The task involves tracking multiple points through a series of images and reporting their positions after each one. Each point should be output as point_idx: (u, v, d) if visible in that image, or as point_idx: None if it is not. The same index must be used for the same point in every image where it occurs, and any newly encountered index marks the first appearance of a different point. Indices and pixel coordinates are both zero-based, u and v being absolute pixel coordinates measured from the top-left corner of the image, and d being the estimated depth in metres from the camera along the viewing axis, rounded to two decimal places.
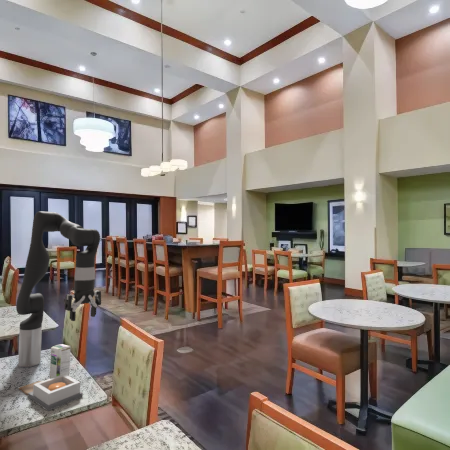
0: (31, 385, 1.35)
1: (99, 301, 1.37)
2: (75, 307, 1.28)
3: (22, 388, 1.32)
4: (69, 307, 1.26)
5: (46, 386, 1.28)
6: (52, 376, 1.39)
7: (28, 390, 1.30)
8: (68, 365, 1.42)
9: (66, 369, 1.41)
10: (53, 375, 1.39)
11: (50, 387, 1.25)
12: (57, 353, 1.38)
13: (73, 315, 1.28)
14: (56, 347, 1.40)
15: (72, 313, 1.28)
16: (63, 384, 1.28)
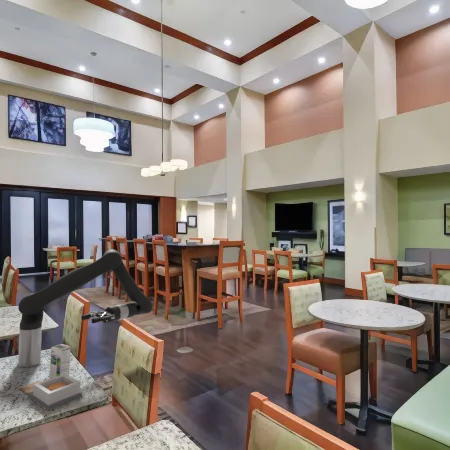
0: (31, 385, 1.35)
1: None
2: None
3: (22, 388, 1.32)
4: None
5: (46, 386, 1.28)
6: (52, 376, 1.39)
7: (28, 390, 1.30)
8: (68, 365, 1.42)
9: (66, 369, 1.41)
10: (53, 375, 1.39)
11: (50, 387, 1.25)
12: (57, 353, 1.38)
13: (96, 322, 1.50)
14: (56, 347, 1.40)
15: None
16: (63, 384, 1.28)
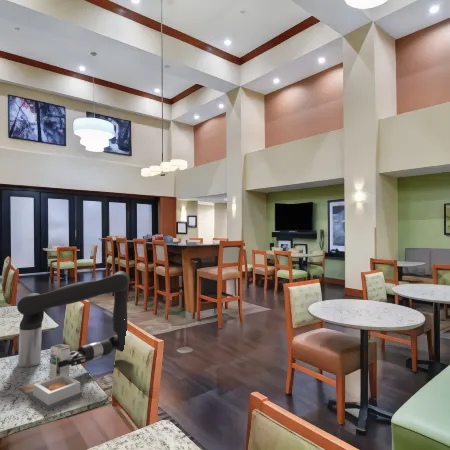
0: (31, 385, 1.35)
1: None
2: None
3: (22, 388, 1.32)
4: None
5: (46, 386, 1.28)
6: (52, 376, 1.39)
7: (28, 390, 1.30)
8: None
9: (66, 369, 1.41)
10: (53, 375, 1.39)
11: (50, 387, 1.25)
12: (57, 353, 1.38)
13: (63, 365, 1.39)
14: (56, 347, 1.40)
15: (66, 364, 1.39)
16: (63, 384, 1.28)
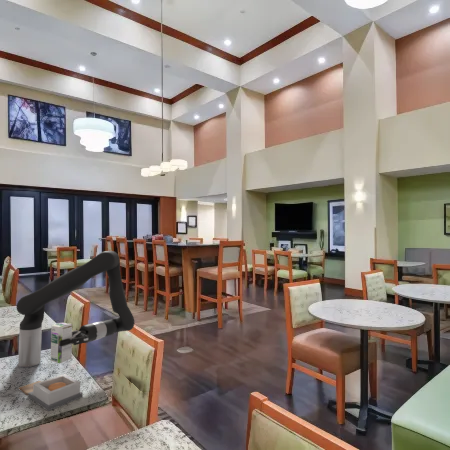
0: (31, 385, 1.35)
1: None
2: None
3: (22, 388, 1.32)
4: None
5: (46, 386, 1.28)
6: (53, 356, 1.31)
7: (28, 390, 1.30)
8: None
9: (68, 348, 1.33)
10: (55, 354, 1.31)
11: (50, 387, 1.25)
12: (58, 331, 1.31)
13: (65, 344, 1.31)
14: (57, 325, 1.32)
15: (68, 343, 1.32)
16: (63, 384, 1.28)
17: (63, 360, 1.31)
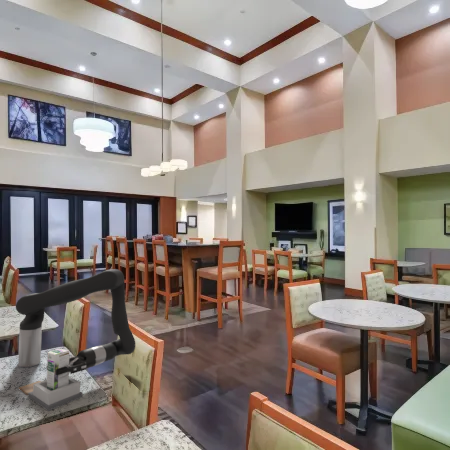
0: (31, 385, 1.35)
1: None
2: None
3: (22, 388, 1.32)
4: None
5: (46, 386, 1.28)
6: (49, 385, 1.25)
7: (28, 390, 1.30)
8: None
9: (65, 377, 1.27)
10: (51, 383, 1.24)
11: None
12: (54, 359, 1.24)
13: (62, 373, 1.24)
14: (53, 352, 1.26)
15: None
16: None
17: None
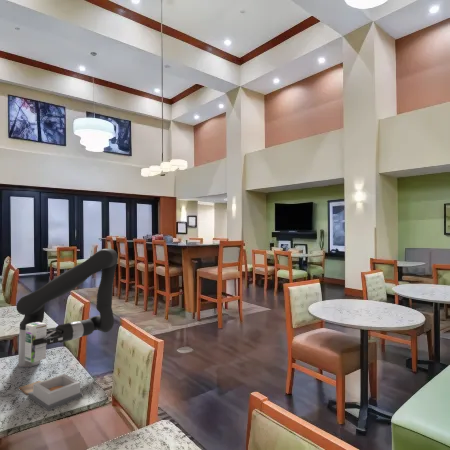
0: (31, 385, 1.35)
1: None
2: None
3: (22, 388, 1.32)
4: None
5: (46, 386, 1.28)
6: (27, 355, 1.32)
7: (28, 390, 1.30)
8: (44, 344, 1.34)
9: (42, 348, 1.34)
10: (28, 353, 1.31)
11: None
12: (32, 330, 1.31)
13: None
14: (31, 324, 1.33)
15: (41, 343, 1.32)
16: None
17: (37, 359, 1.32)
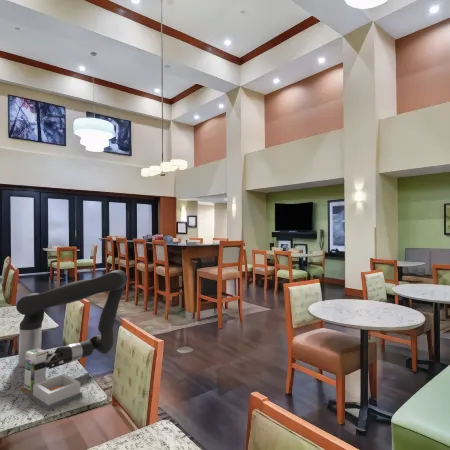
0: None
1: None
2: None
3: (22, 388, 1.32)
4: None
5: (46, 386, 1.28)
6: (26, 382, 1.31)
7: (28, 390, 1.30)
8: (44, 371, 1.34)
9: (42, 375, 1.33)
10: (28, 381, 1.31)
11: None
12: (31, 358, 1.31)
13: (40, 368, 1.31)
14: (31, 352, 1.33)
15: (43, 367, 1.32)
16: None
17: None
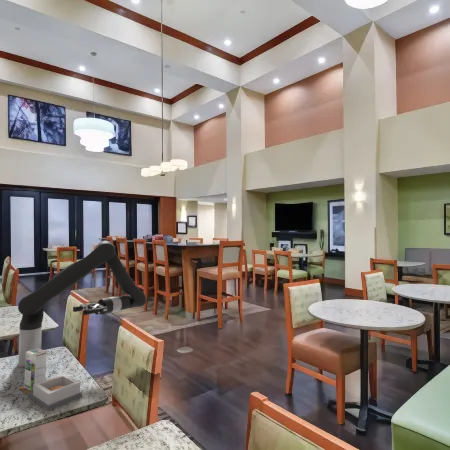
0: None
1: None
2: None
3: (22, 388, 1.32)
4: None
5: (46, 386, 1.28)
6: (26, 382, 1.31)
7: (28, 390, 1.30)
8: (44, 371, 1.34)
9: (42, 375, 1.33)
10: (28, 381, 1.31)
11: None
12: (31, 358, 1.31)
13: (88, 313, 1.48)
14: (31, 352, 1.33)
15: (90, 313, 1.48)
16: None
17: None
